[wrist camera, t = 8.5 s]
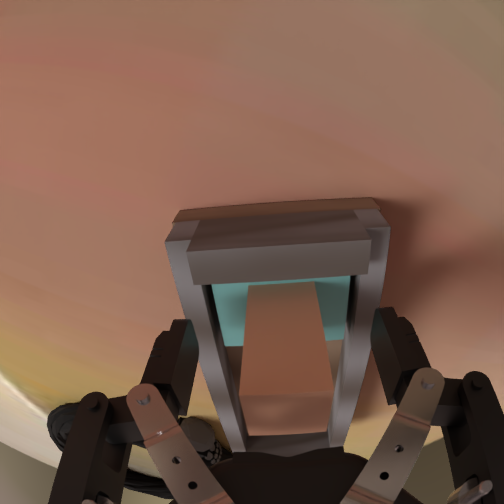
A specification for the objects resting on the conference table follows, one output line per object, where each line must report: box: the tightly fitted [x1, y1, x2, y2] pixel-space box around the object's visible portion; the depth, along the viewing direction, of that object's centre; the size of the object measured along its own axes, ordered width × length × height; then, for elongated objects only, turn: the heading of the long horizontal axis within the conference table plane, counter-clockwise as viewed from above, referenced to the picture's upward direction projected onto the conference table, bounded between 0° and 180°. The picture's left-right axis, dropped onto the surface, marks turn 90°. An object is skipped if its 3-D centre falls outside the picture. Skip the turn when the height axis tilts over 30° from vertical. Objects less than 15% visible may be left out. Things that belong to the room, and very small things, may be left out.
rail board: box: [165, 198, 391, 457], centre depth 19 cm, size 22×10×4 cm, turn 5°
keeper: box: [211, 276, 350, 436], centre depth 13 cm, size 5×6×8 cm
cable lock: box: [47, 403, 233, 499], centre depth 32 cm, size 28×4×30 cm
